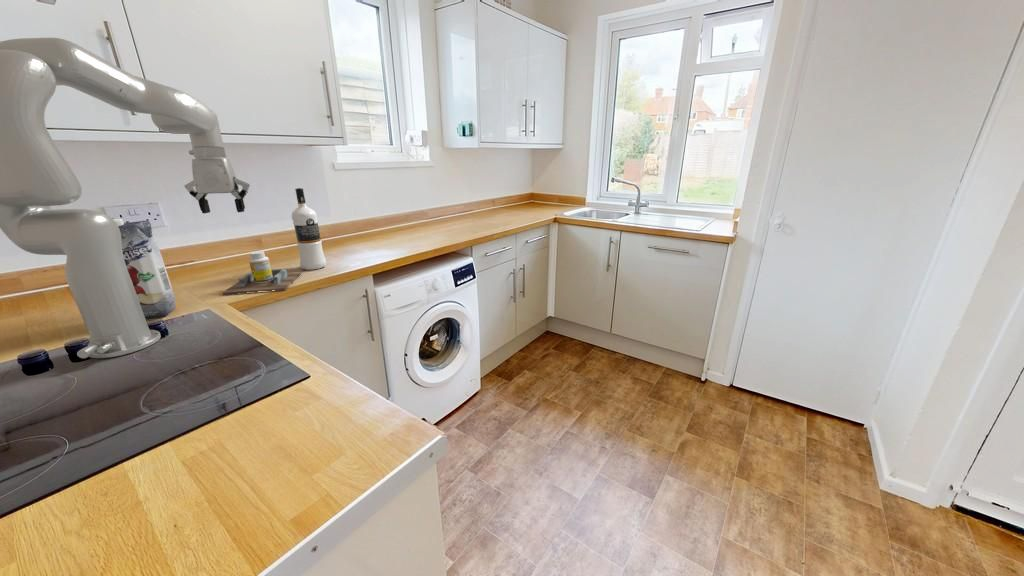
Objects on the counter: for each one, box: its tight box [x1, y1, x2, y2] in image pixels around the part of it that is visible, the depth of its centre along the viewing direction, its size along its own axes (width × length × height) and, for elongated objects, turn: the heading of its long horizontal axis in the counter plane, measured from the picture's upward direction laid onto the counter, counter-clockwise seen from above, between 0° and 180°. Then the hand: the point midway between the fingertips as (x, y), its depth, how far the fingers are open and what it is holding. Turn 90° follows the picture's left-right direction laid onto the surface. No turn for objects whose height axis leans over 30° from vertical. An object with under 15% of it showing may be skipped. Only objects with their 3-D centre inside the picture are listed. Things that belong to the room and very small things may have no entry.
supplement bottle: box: [248, 250, 273, 284], centre depth 130 cm, size 6×6×10 cm
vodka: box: [291, 187, 328, 271], centre depth 146 cm, size 9×9×30 cm
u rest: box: [222, 268, 303, 296], centre depth 132 cm, size 18×18×4 cm
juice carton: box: [112, 218, 177, 320], centre depth 104 cm, size 9×10×27 cm
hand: (223, 212), depth 120 cm, fingers open, 9 cm apart
